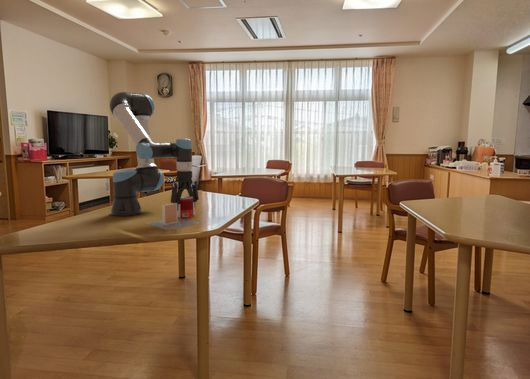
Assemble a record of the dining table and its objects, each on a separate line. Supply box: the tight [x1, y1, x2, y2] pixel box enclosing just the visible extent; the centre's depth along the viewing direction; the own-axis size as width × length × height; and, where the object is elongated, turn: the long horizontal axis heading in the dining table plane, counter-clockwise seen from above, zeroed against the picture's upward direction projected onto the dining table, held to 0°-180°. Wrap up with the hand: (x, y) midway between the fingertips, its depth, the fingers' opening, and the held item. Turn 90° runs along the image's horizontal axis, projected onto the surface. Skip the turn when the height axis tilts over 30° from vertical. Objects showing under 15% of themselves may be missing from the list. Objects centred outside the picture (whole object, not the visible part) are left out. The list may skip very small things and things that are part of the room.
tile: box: [161, 202, 178, 225], centre depth 168 cm, size 2×7×9 cm, turn 140°
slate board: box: [146, 217, 201, 231], centre depth 168 cm, size 18×18×1 cm
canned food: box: [178, 195, 194, 219], centre depth 184 cm, size 8×8×11 cm
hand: (185, 215), depth 184 cm, fingers closed on canned food, 8 cm apart
